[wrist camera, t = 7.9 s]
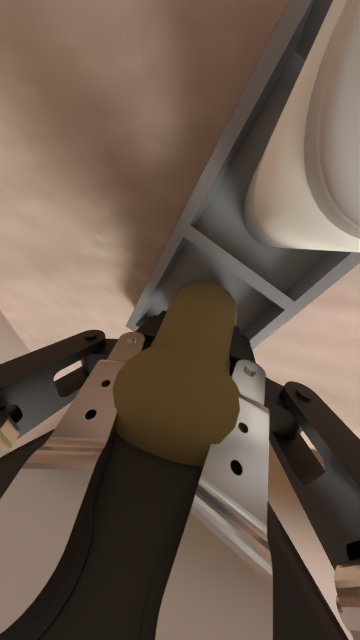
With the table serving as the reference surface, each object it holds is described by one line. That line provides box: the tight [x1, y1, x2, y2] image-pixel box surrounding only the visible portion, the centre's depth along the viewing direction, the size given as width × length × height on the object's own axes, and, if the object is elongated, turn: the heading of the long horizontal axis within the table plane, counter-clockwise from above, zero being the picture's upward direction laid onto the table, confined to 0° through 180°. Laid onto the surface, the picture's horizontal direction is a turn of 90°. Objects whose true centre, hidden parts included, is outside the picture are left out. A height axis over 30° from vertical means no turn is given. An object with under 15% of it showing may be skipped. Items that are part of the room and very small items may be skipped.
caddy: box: [126, 0, 360, 350], centre depth 12 cm, size 20×11×3 cm, turn 149°
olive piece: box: [109, 281, 244, 467], centre depth 9 cm, size 6×6×11 cm
